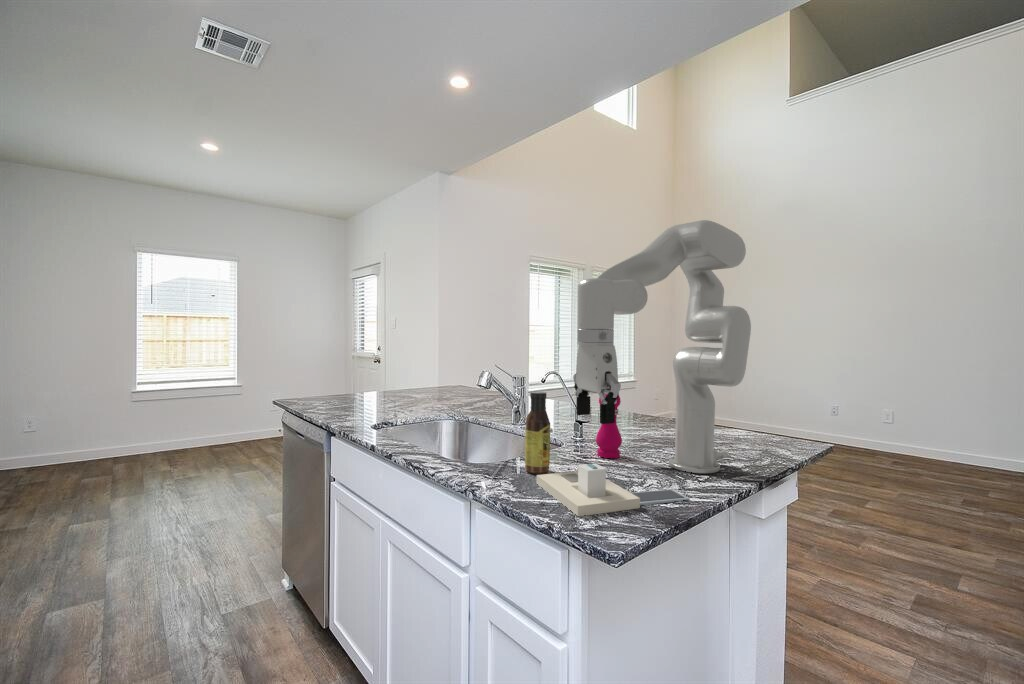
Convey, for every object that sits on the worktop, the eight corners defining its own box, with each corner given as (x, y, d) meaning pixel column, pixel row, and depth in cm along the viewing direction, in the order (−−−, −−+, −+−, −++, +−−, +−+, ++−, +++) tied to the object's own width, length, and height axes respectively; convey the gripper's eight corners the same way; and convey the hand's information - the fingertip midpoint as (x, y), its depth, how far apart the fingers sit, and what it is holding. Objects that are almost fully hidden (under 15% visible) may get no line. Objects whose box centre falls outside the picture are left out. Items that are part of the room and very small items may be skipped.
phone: (672, 493, 104) (672, 488, 104) (689, 502, 99) (689, 497, 99) (624, 497, 101) (624, 492, 101) (638, 507, 95) (638, 502, 95)
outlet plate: (590, 478, 113) (590, 469, 113) (639, 508, 94) (640, 497, 94) (536, 483, 108) (536, 474, 108) (577, 516, 89) (577, 505, 89)
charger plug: (595, 495, 101) (595, 462, 100) (605, 502, 97) (606, 467, 97) (577, 497, 99) (578, 463, 99) (587, 504, 95) (587, 469, 95)
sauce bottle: (547, 475, 114) (549, 394, 113) (522, 473, 115) (523, 393, 115) (551, 468, 120) (552, 391, 120) (527, 466, 121) (528, 390, 121)
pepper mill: (593, 457, 131) (594, 386, 130) (598, 451, 137) (599, 383, 137) (619, 460, 128) (620, 388, 128) (623, 454, 135) (624, 385, 134)
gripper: (635, 339, 92) (634, 425, 92) (590, 336, 108) (589, 410, 108) (601, 339, 89) (601, 428, 90) (560, 337, 105) (560, 412, 106)
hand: (594, 418), depth 99 cm, fingers open, 9 cm apart
